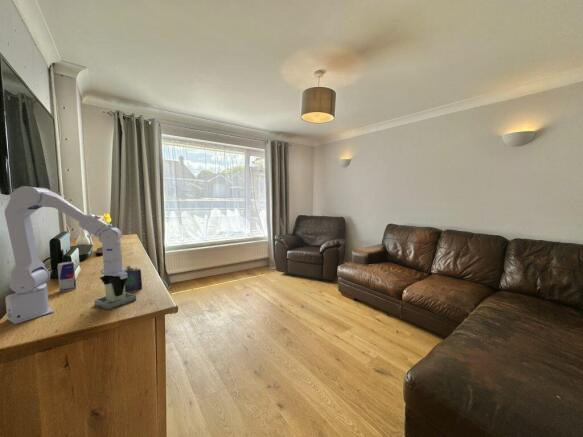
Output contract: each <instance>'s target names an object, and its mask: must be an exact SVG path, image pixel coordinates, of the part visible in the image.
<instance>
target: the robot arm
mask: <svg viewBox="0 0 583 437" xmlns="http://www.w3.org/2000/svg"><path fill="white" fill-rule="evenodd" d="M9 196H10V198H9V200H8V203H7V204H6V207H5V209H4V217H5V222H6V226H7V230H8V236H9V239H10V244H11V250H12V253H13V257H14V258H13V259H14V261H15V265H14V266H13V268H12V270H11V272H10V280H9V288H10V289H11V290H12V291H13V292H15V293H11V294H8V295H6V296H5V308H6V309H5V310H6V320H8V321H9V322H11V323H12V324H14V325H17V324H20V323H23V322H27V321H29V320H32V319H33V320H34V319H36V318H39V317H43V316H45V315H49V314H52V313H54V312H55V309H52V308H50V306H49V305H50V304H49V294H48V285H47V282H48V280H50V277H51V273H50V271H49V270H48V269H47V268H46V266H45V263H44V262H43V261H41V260H40V258H39V253H38V248H37V243H36V239H35V233H34V229H33V225H32V220H31V219H32V218H31V215H32V214H33V213H35V212H37V211H38V210H39V209H41V208H44V207H45V208H53V209H56V210H58V211H59V212H60V213H63V214H64V215H66V216H68V217H70V218H72V219H73V220H75V221H77V222H78V225H79V227H80V228H82V229H83V230H84V231H86V232H88V233H89V234H91V235H93V236H94V237H97V238H98V240H99V241H98V242H100V243H101V247H102V263H103V264H102V265H103V268H101V269H100V274H101V275H103V276H100V277H99V279H100V280H101V282H102V283H103V284H104V286H105V284H109V283H111V284H112V286H113V289H114V294H115V296H116V297H117V296H120V295H122V294H123V289H124V285H125V283H126V281H127V279H128V276H127V273H126V272H125V270H127V268H126V267H125V268H124V267H123V266H124V265H123V256H122V255H123V254H122V244H121V238H122V237H123V232H122V230H121V229H119V227H115V226H113V224H112V223H107V222H106V221H104V220H103V219H101V216H100V215H98V214H96V215H95V214H93V213H91V214H90V213H89V214H86V213H85V212H84V211H82V210H81V209H79V208H78V207H76V206H75V205H73V204H72V203H71V202H69V201H68V200H66V199H64V198H63V197H62V196H61V195H59V193H56V192H53V191H51V190H50V189H49V188H47V187H34V186H33V187H32V186H30V185H29V186H27V185H25V186H24V185H23V186H20V187H18V188H16V189H15V190H13V191H12V192H10V193H9Z"/></svg>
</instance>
